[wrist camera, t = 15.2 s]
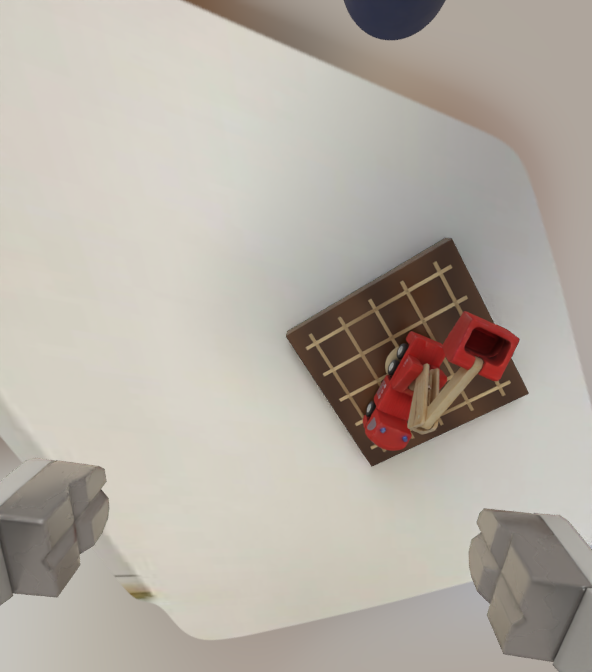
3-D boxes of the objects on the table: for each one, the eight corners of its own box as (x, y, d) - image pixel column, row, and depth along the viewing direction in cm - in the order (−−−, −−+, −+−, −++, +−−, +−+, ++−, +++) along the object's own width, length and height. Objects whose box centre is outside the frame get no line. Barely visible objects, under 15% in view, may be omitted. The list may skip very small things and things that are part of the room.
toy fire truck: (358, 420, 34) (371, 493, 25) (429, 289, 30) (477, 318, 21) (389, 433, 34) (414, 510, 25) (465, 304, 30) (528, 340, 21)
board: (445, 237, 30) (452, 238, 29) (520, 386, 34) (530, 394, 32) (286, 331, 34) (285, 336, 32) (369, 457, 37) (371, 468, 35)
